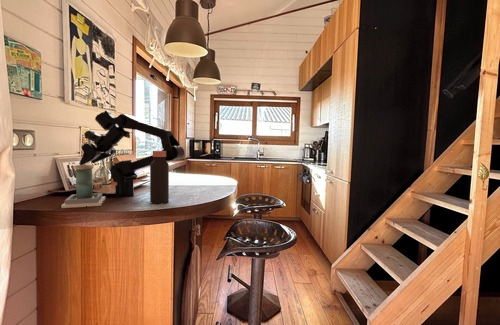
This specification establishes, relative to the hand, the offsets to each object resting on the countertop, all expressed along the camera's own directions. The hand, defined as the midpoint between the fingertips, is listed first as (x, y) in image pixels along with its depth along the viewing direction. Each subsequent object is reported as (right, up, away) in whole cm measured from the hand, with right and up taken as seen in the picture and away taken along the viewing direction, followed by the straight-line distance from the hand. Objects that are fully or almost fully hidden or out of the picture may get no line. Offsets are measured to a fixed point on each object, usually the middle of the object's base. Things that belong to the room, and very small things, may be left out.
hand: (86, 163), depth 109 cm
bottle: (+35, -15, -9) cm, 39 cm away
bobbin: (+8, -14, -14) cm, 21 cm away
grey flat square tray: (+8, -15, -14) cm, 22 cm away
